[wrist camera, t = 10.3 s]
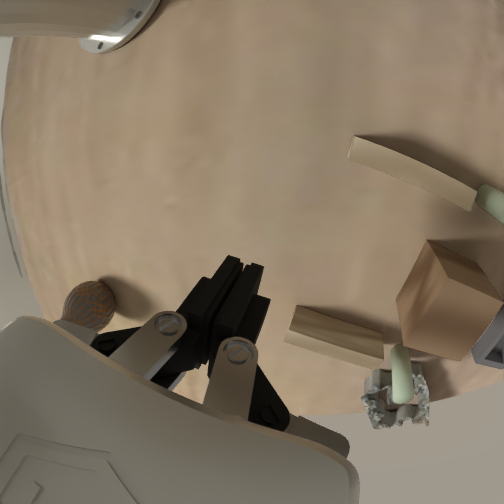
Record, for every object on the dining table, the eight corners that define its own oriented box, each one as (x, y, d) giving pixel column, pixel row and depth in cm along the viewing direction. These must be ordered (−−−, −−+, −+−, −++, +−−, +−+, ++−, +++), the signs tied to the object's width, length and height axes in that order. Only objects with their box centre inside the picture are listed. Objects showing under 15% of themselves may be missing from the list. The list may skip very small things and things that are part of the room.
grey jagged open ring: (428, 401, 25) (430, 426, 22) (376, 413, 29) (374, 438, 25) (424, 352, 23) (428, 382, 19) (359, 369, 26) (357, 399, 23)
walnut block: (426, 239, 18) (448, 277, 13) (476, 263, 17) (503, 302, 12) (395, 298, 21) (403, 345, 16) (445, 315, 20) (459, 361, 15)
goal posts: (480, 179, 14) (519, 201, 9) (497, 190, 14) (536, 214, 9) (387, 354, 24) (388, 401, 19) (402, 359, 23) (405, 405, 18)
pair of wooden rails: (353, 135, 17) (355, 136, 14) (458, 180, 15) (477, 191, 12) (292, 316, 25) (283, 341, 22) (375, 343, 24) (375, 370, 21)
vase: (128, 300, 33) (85, 340, 26) (115, 320, 37) (79, 355, 29) (95, 264, 33) (49, 297, 25) (86, 288, 36) (48, 319, 29)
